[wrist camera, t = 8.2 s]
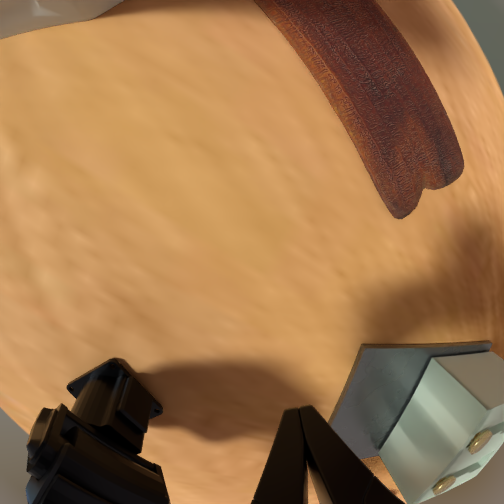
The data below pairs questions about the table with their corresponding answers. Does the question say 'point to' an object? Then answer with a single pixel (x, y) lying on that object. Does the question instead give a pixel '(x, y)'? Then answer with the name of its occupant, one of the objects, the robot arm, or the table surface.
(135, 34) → the table surface
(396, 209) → the wooden tablet
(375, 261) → the table surface
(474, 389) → the two-slot toaster
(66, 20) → the paper bag
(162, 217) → the table surface
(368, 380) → the base plate
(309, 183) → the table surface
